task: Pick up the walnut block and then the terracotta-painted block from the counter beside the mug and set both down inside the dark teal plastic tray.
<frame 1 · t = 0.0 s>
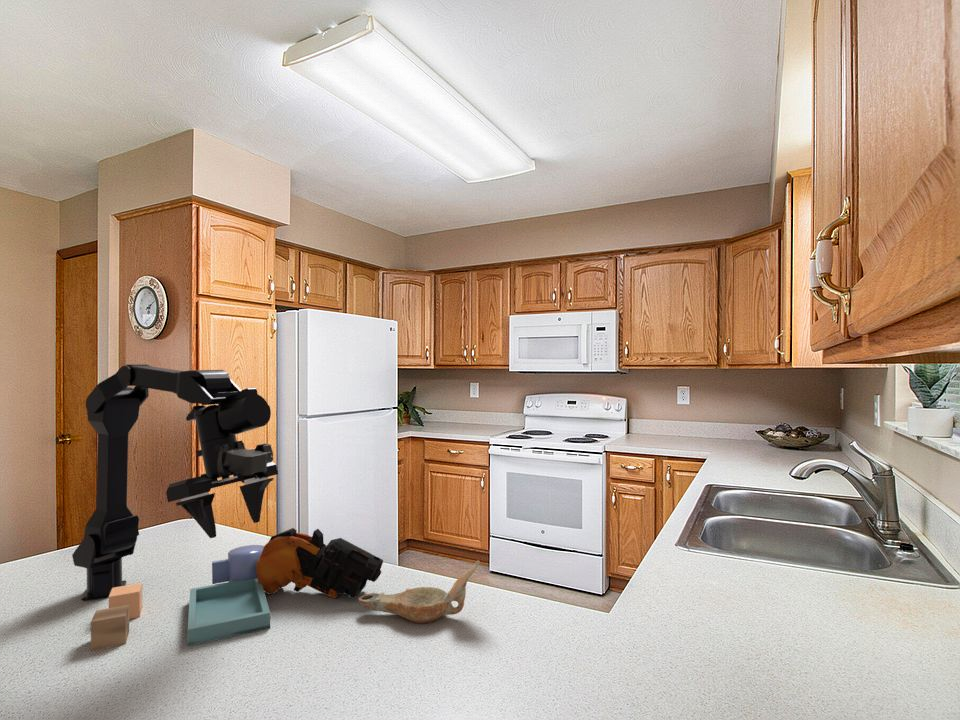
hand: (235, 529, 93), 15 cm above the countertop, tool pointing down, fingers open, 9 cm apart
tool: (320, 594, 104), on the countertop, touching tray
block terracotta: (126, 615, 96), on the countertop
block walnut: (110, 641, 87), on the countertop
oil lamp: (418, 618, 94), on the countertop
tray: (228, 614, 96), on the countertop
mug: (247, 586, 108), on the countertop
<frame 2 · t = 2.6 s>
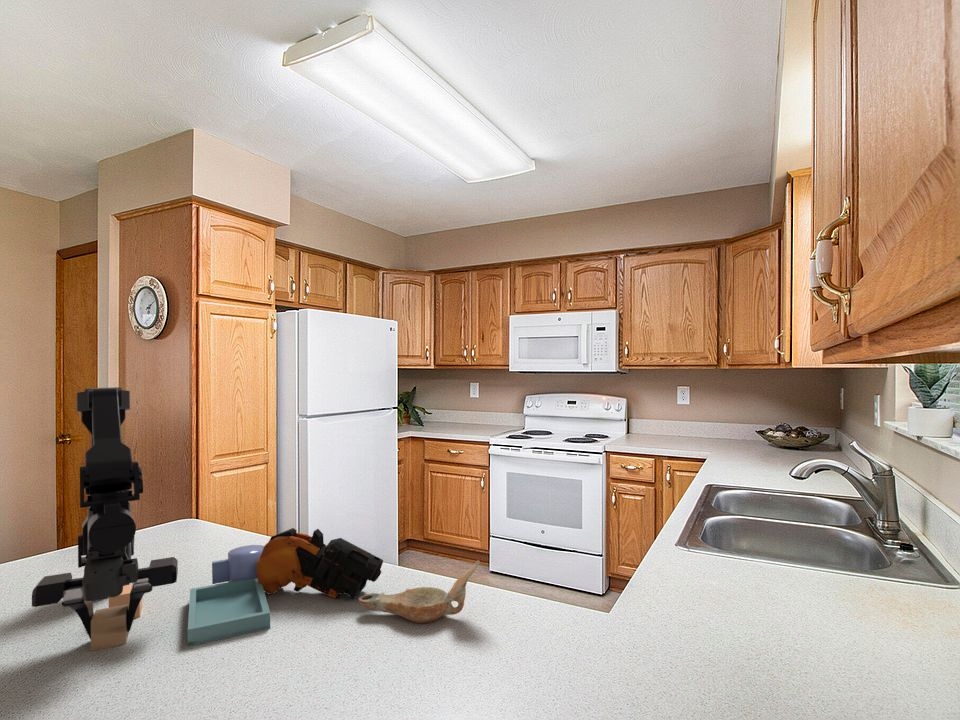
hand: (110, 634, 87), 1 cm above the countertop, tool pointing down, fingers closed on block walnut, 4 cm apart
block walnut: (110, 640, 87), on the countertop, touching gripper
everything else where it was.
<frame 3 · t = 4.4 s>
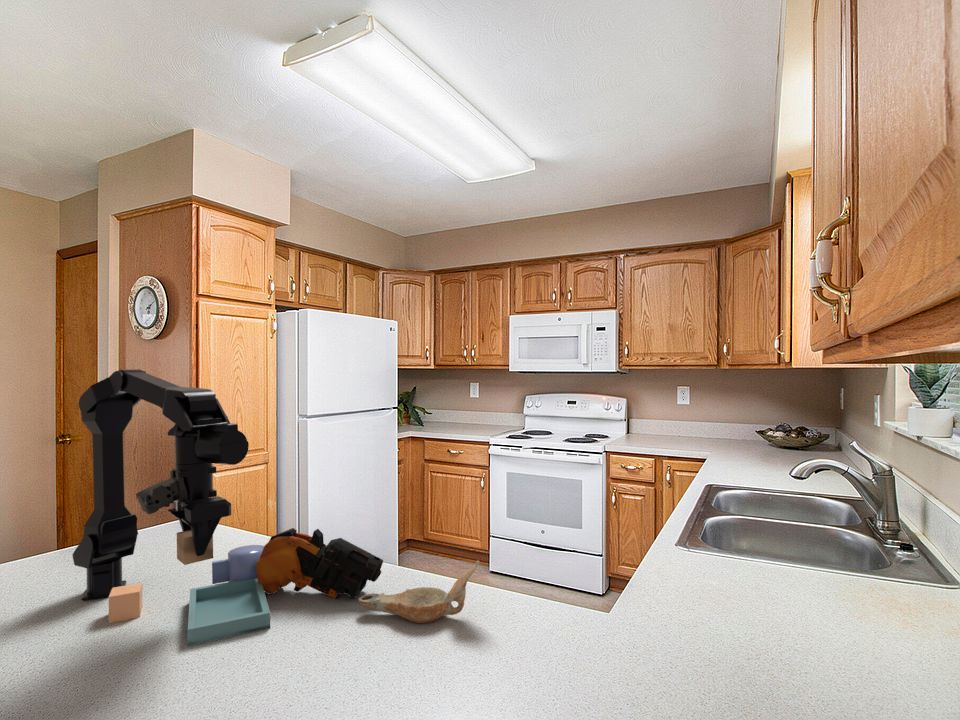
hand: (195, 552, 95), 11 cm above the countertop, tool pointing down, fingers closed on block walnut, 4 cm apart
block walnut: (195, 558, 95), point 10 cm above the countertop, touching gripper
everything else where it was.
when the fingers open (4 cm above the countertop, at t = 6.4 s): block walnut drops 2 cm, resting on tray.
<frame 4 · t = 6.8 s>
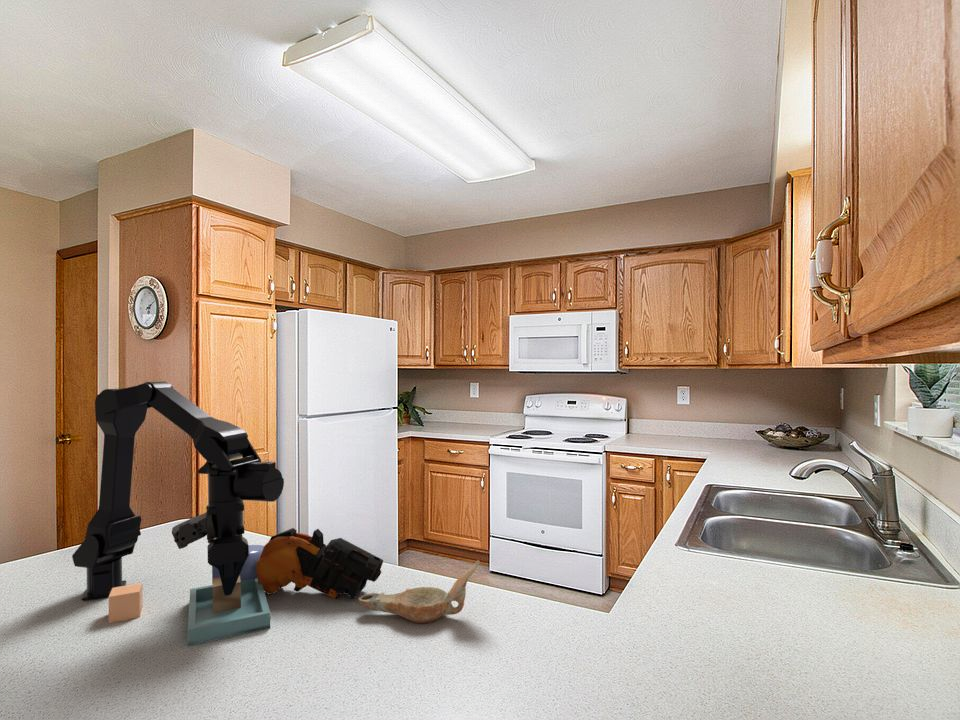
hand: (226, 585, 98), 4 cm above the countertop, tool pointing down, fingers open, 9 cm apart
block walnut: (226, 605, 98), resting on tray
everything else where it was.
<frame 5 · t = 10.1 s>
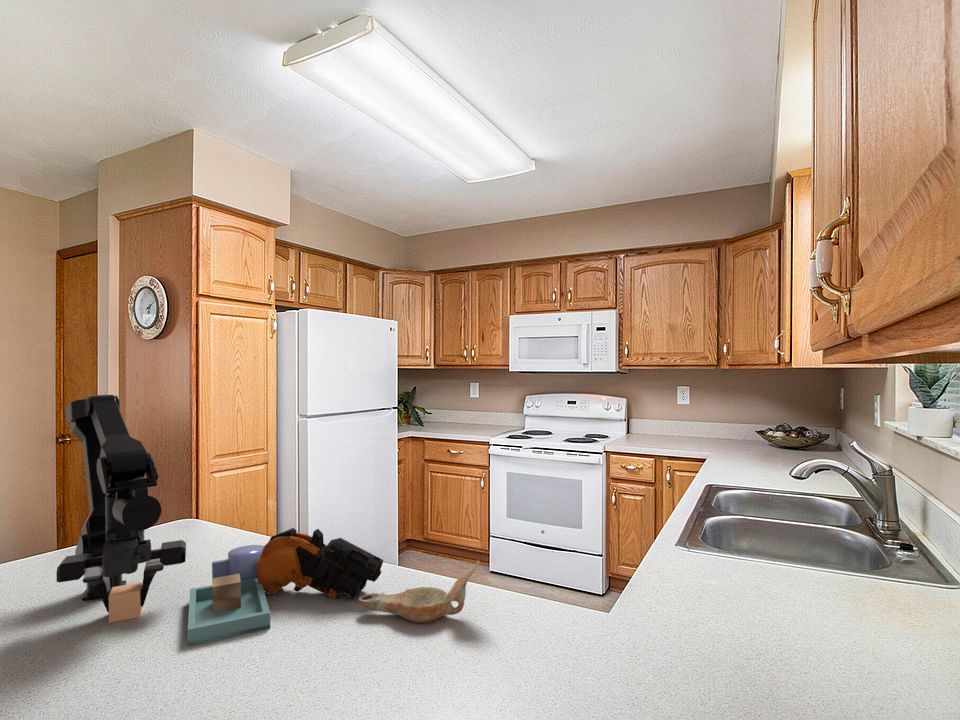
hand: (126, 608, 96), 1 cm above the countertop, tool pointing down, fingers closed on block terracotta, 4 cm apart
block terracotta: (126, 614, 96), on the countertop, touching gripper
everything else where it was.
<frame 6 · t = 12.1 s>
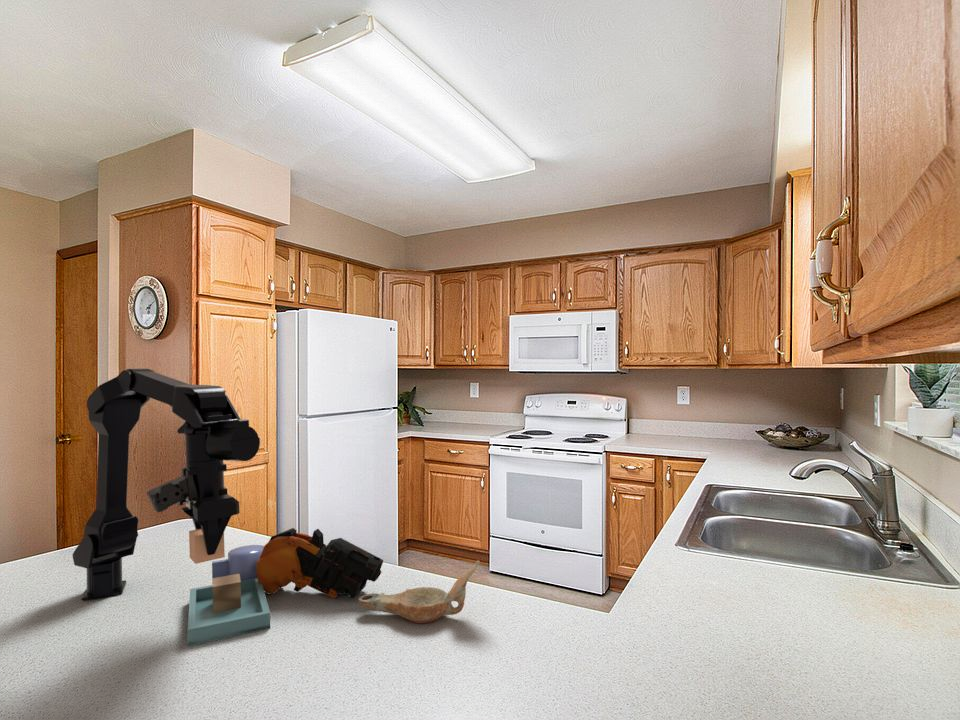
hand: (207, 551, 93), 12 cm above the countertop, tool pointing down, fingers closed on block terracotta, 4 cm apart
block terracotta: (207, 557, 93), point 11 cm above the countertop, touching gripper
everything else where it was.
when the fingers open (4 cm above the countertop, at t = 14.0 s): block terracotta drops 2 cm, resting on tray.
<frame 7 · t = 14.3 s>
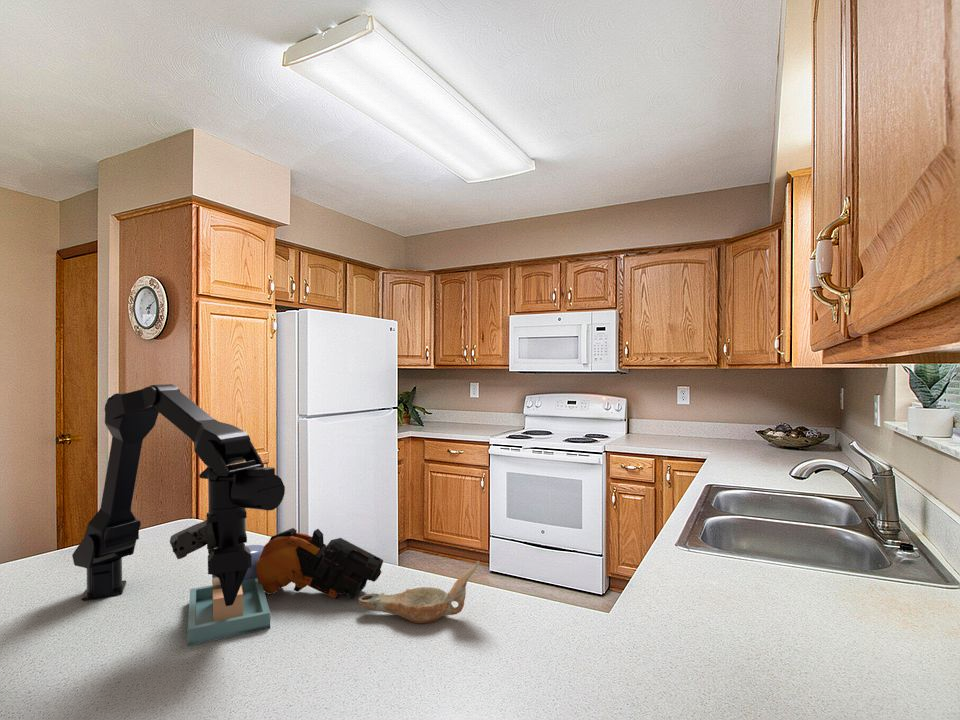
hand: (228, 597, 93), 4 cm above the countertop, tool pointing down, fingers open, 6 cm apart
block terracotta: (228, 618, 93), resting on tray
block walnut: (226, 604, 98), point 1 cm above the countertop, touching gripper, tray
everything else where it was.
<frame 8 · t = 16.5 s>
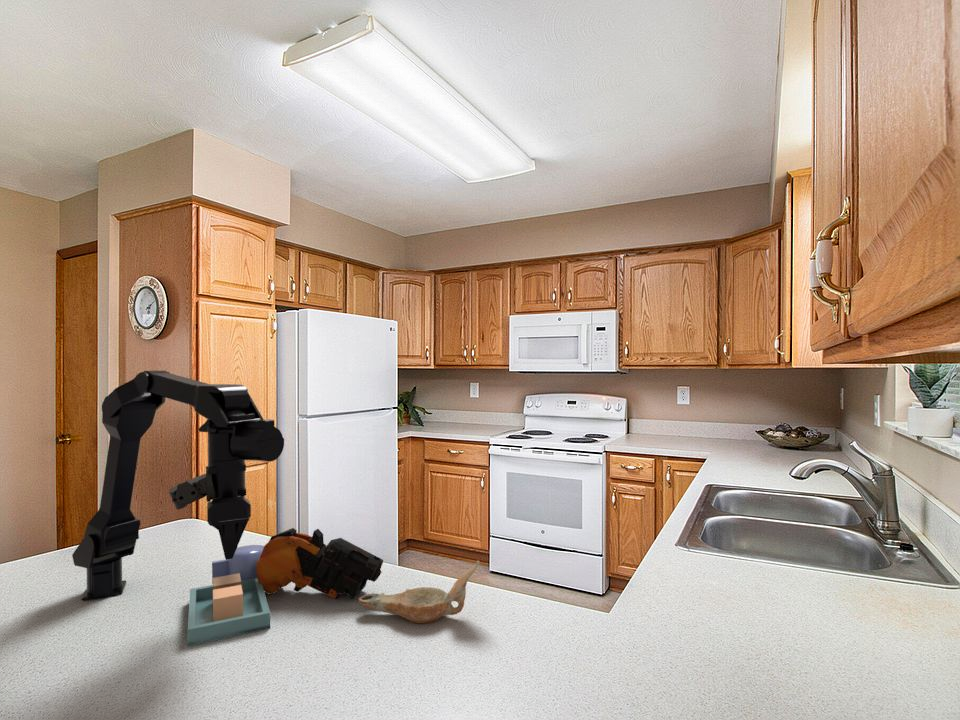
hand: (227, 550, 93), 12 cm above the countertop, tool pointing down, fingers open, 9 cm apart
block walnut: (227, 604, 98), resting on tray
everything else where it was.
at the end: block walnut inside the target area on the tray (3.2 cm from its centre), point 0.5 cm above the tray's base; block terracotta inside the target area on the tray (2.9 cm from its centre), point 0.5 cm above the tray's base; the gripper is holding nothing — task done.
